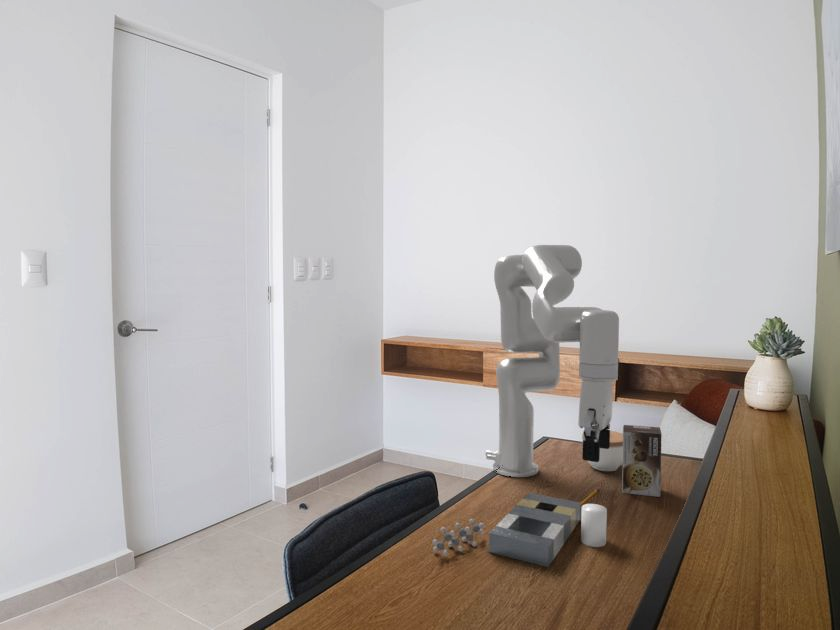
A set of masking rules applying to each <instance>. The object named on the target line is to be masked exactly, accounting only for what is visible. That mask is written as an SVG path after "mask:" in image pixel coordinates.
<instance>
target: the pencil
mask: <svg viewBox="0 0 840 630" xmlns="http://www.w3.org/2000/svg"><path fill="white" fill-rule="evenodd" d="M600 490H601V487H597V488H596V489H595V490H593V491H592V492H591V493H590V494H589V495H588V496H587V497H586V498H584V499H583V500H582V501H580V507H582V506H583V505H584V504H585V503H586V502H587V501H588V500H590V499H591V498H592V497H593V496H594V495H595V494H597V492H599V491H600Z"/></svg>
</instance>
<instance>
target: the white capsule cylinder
mask: <svg viewBox="0 0 840 630" xmlns="http://www.w3.org/2000/svg"><path fill="white" fill-rule="evenodd" d="M607 515H608V509H607V508H606V506H603V505H601V504H597V503H586V504H585V503H584V504H582V505H581V511H580V522H581V524H580V528H581V529H580V541H581V543H582V544H584V545H585V546H588V547H592V548H601V547H602V548H603V547H605V546H606V545H607V519H608V517H607Z"/></svg>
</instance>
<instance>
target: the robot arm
mask: <svg viewBox="0 0 840 630" xmlns="http://www.w3.org/2000/svg"><path fill="white" fill-rule="evenodd" d="M582 266H583V261H582V256H581V254H580V252H579V250H578V249H577V248H575V247H574V246H572V245H569V244H567V245H566V244H537V245H533V246H531V247H528V249H526V250H525V251H524V253H523V254H511V255H505V256H503V257H500V258H499V259H498V260H497V261H496V263H495V267H494V272H493V273H494V274H493V277H494V284H495V289H496V292H497V295H498V299H499V306H500V311H499V312H500V313H499V314H500V338H501V339H500V340H501V346H502V349H503V350H505V352H507V353H513V354H514V353H515V354H516V353H517V354H520V353H521V354H526V353H527V354H529V353H532V354H533V353H537V354H538V357H537V356H536V357H526V356H525V357H510V358H505V359H503V360H502V361H500V362H499V363H498V364H497V366H496V369H495V376H496V385H497V390H498V406H499V407H498V411H499V412H498V450H497V451H493V450H486V451H485V458H486V460H491V461H494V463H493V465H492V470H493V471H494V472H495V473H496V474H499V475H502V476H506V477H509V476H511V478H512V477H513V478H527V477H532V476H534V475H537V474H538V473H539V469H540V468H539V465H538V464H537V463H535V462H534V424H535V423H534V421H535V420H534V416H535V413H534V412H535V410H534V405H533V404H532V402H531V401H530V400H529V399H528V397H527V395H526V393H533V392H534V393H537V392H550V391H553V390H555V389H556V388H557V387H559V386H558V385H559V383H560V378H561V377H560V376H561V375H560V374H561V365H560V364H561V363H560V360H561V359H560V343H579V353H578V354H579V357H578V358H579V361H578V378H579V379H580V380H581V385H580V393H579V394H580V395H579V408H578V409H579V410H578V428H580V429H584V430H583V433H582V434H583V439H582V452H581V453H582V455H581V458H582V460H583V461H587V462H588V461H592V462H599V457H600V448H604V449H609V447H610V431H611V430H610V428H611V422H612V419H613V418H612V417H613V401H614V399H613V392H614V391H613V387H614V386H613V382H614V381H618V380H619V379H618V377H619V375H618V374H619V372H618V371H619V342H620V341H619V340H620V339H619V337H620V333H619V332H620V317H619V315H618V313H617V312H615V311H613V310H607V309H606V310H605V309H602V308H600V307H595V306H562V307H560V306H559V307H558V306H557V307H555V305H558V304H559V303H562V302H563V301H565V300H567V298H568V297H570V295H572V292H573V290H574V289H575V288H574V287H575V280H574V279H576V278H577V277H578V275H580V273H581V271H582ZM522 287H526V288H527V287H529V288H530V287H533V288H535V289H536V292H535V294H534V295H533V299H532V300H531V299H530V297H529V295H528V293H527V292H526V291H525V290H524V288H522ZM607 429H608V430H607ZM502 465H503V466H502ZM499 467H500V468H499ZM498 468H499V469H498ZM496 469H498V470H496ZM495 470H496V471H497V472H496V471H495Z"/></svg>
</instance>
